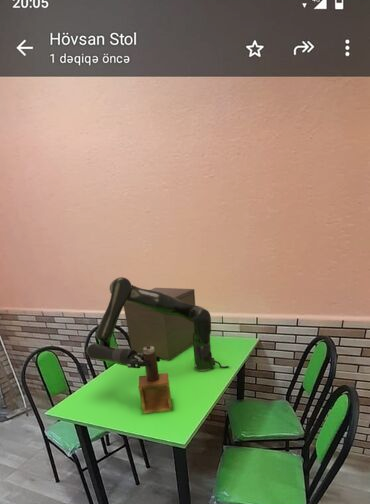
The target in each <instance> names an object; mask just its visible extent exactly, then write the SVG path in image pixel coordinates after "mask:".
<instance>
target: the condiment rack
mask: <svg viewBox="0 0 370 504" xmlns="http://www.w3.org/2000/svg"><path fill="white" fill-rule="evenodd" d="M138 392H139V398H140V403H141V408H142V414H153V413H161V412H170V411H173V404H172V394H171V386H170V380H169V373H168V372H165V373H164V372H163V373H159V380H157V381H155V382H149V381H147V376H146V374H145V375H139V376H138Z"/></svg>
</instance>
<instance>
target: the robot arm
mask: <svg viewBox="0 0 370 504" xmlns="http://www.w3.org/2000/svg"><path fill="white" fill-rule="evenodd" d="M109 292H110V294H111V295H110V298H109V303H108V306H107V308H106V310H105V312H104V313H103V316H102V317H101V320H100V323H99V325H98V328H97V330H96V333H95V338H96V339H97V340H99V343H90V344H89V345H88V346H87V347H86V351H85V352H86V355H87V357H88V358H90V359H92V360H95V361H98V362H108V363H111V364H117V365H121V366H124V367H125V366H126V367H127V368H129V369H141V368H143V367H144V368H145V366H146V367H152V362H149V361H144V357H143V354H142V353H137V352H136V351H135V350H132V349H131V348H126V347H125V348H124V347H115V346H111V340H112V338H113V335H114V332H115V329H116V326H117V324H118V321H119V318H120V315H121V312H122V311H123V309H124V304H125V302H126V301H130V302H134V303H137V304H139V305H142V306H144V307H146V308H149V309H151V310H154V311H156V312H159V313H162V314H166V315H173V316H180V317H183V318H185V319H187V320H189V321H191V322H193V323H194V333H193V346H192V347H193V357H194V369H195V370H196V371H199V372H207V371H210V370H213V366H216V364H218V366H219V368H221V369H228V368H229V366H230V365H226V366H222V365H221V363H220V362H219V361H216V360H215V358H214V357H213V353H212V345H211V343H212V342H211V333H212V317H211V313H210V312H209V310H208V309H206V308H204V307H203V306H201V305H196V304H195V305H191V304H187V303H184V302H182V301H180V300H178V299H176V298H174V297H172V296H169V295H167V294H164V293H161V292H157V291H153V290H151V289H146V288H142V287H138V286H136V285H133V284H132V283H131V281H130V280H129V279H128V278H126V277H123V276H120V277H117V278H115V279H114V280H112V281H111V282H110V284H109ZM156 358H157V363H159V362H161V359H160V357H159V356H156Z"/></svg>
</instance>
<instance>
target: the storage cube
mask: <svg viewBox="0 0 370 504" xmlns="http://www.w3.org/2000/svg"><path fill="white" fill-rule="evenodd" d="M150 290H153V291H157V292H161V293H164V294H167V295H169V296H172V297H174V298H176V299H178V300H180V301H182V302H184V303H187V304H191V305H196V295H195V289H194V288H176V287H173V288H172V287H154V288H151V289H150ZM123 311H124V316H125V322H126V328H127V333H128V339H129V343H130V349H132V350H135V351H136V352H137V353H142V354H143V352H144V351H143V348H144V347H147V346H153V347H154V350H155V351H156V356H159V357H160V360H164V361H171V360H173V359H174V358H176V357H177V356H178V357H179V355H181V354H182V353H184V352H185V351H187V350H188V349H190V348H191V347H194V346H193V333H194V323H193V322H191V321H189V320H187V319H185V318H183V317H180V316H173V315H166V314H162V313H159V312H156V311H154V310H151V309H149V308H146V307H144V306H142V305H139V304H137V303H134V302H130V301H126V302H125V304H124V306H123Z"/></svg>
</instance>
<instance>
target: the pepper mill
mask: <svg viewBox="0 0 370 504" xmlns="http://www.w3.org/2000/svg"><path fill="white" fill-rule="evenodd" d="M143 351H144V352H143V357H144V361H149V362H152V367H146V366H144V370H145V375H146V376H147V381H149V382H155V381H157V380H159V374H160V373H159V372H160V371H159V365H158V362H157V358H156V351H155V350H154V347H153V346H147V347H144V348H143Z"/></svg>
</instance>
